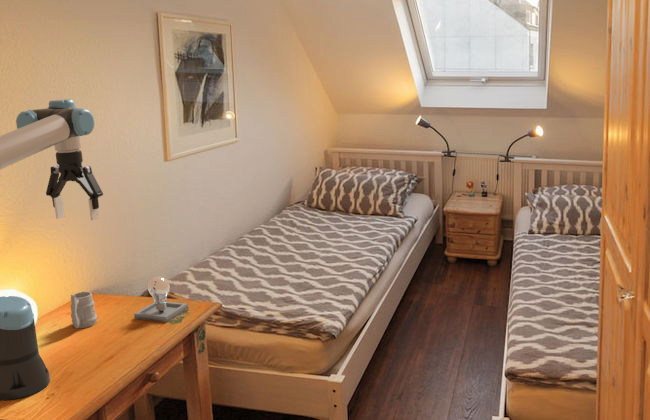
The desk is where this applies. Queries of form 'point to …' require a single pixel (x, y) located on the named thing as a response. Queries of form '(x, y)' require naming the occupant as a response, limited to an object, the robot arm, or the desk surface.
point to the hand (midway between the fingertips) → (77, 218)
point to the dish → (165, 316)
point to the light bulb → (159, 291)
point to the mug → (83, 310)
